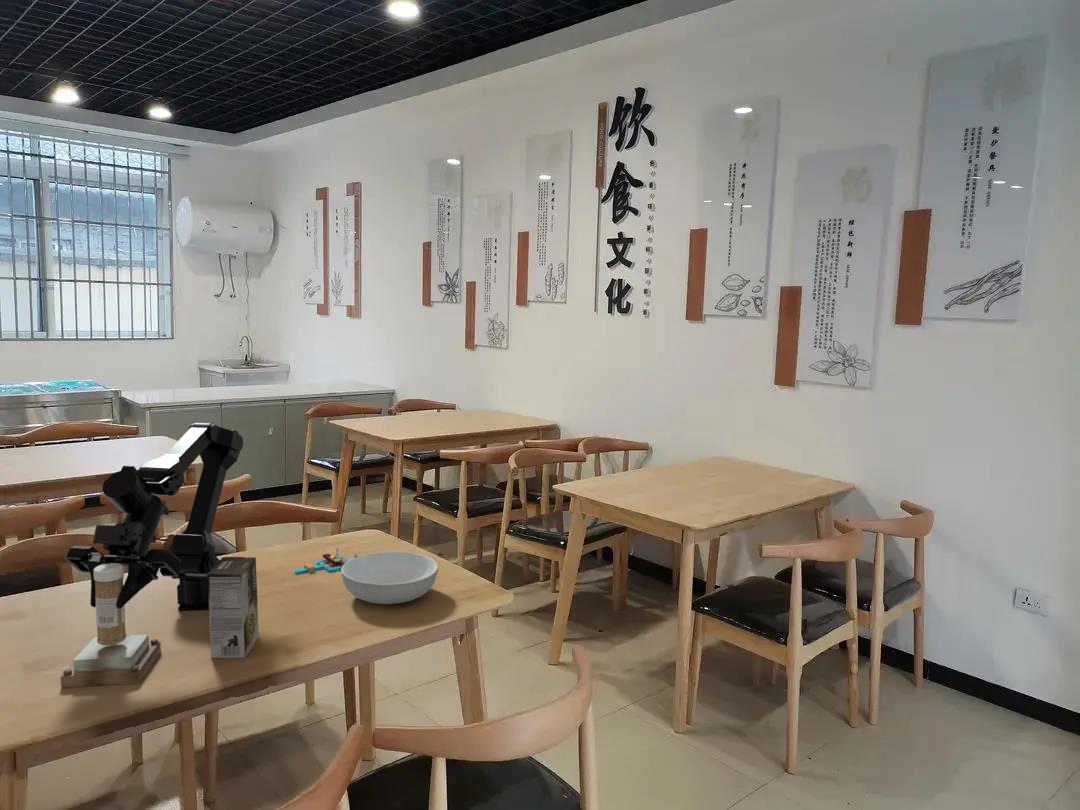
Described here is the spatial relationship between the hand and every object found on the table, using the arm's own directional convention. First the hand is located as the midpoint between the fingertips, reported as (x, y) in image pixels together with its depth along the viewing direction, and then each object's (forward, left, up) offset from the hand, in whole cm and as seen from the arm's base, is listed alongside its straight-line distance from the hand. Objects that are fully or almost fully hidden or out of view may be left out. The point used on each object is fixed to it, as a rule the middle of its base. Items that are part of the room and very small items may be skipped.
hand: (105, 607), depth 132 cm
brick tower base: (0, -1, -12) cm, 12 cm away
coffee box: (-19, -7, -12) cm, 24 cm away
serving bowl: (-47, -29, -12) cm, 57 cm away
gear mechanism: (-33, -51, -13) cm, 62 cm away
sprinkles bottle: (0, -1, -7) cm, 7 cm away
